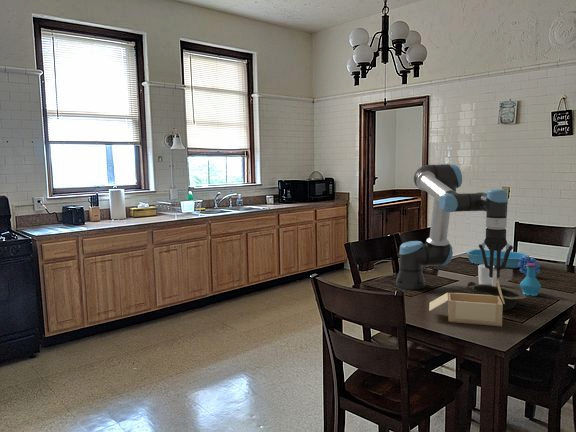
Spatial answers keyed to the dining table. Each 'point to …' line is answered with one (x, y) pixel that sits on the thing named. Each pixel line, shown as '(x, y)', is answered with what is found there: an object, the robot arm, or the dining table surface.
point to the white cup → (484, 275)
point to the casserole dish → (512, 261)
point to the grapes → (525, 261)
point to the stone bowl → (508, 294)
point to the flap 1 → (438, 301)
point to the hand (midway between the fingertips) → (494, 285)
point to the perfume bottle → (530, 281)
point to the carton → (475, 309)
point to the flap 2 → (500, 291)
